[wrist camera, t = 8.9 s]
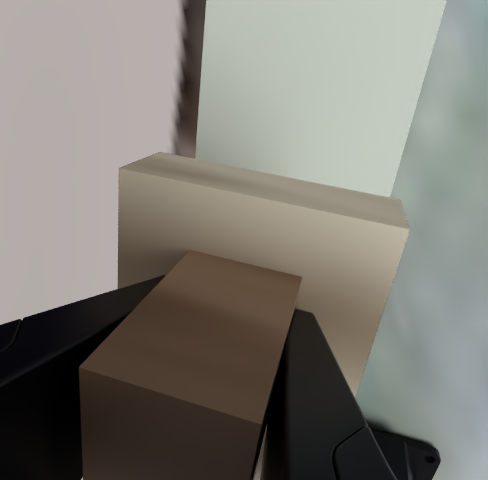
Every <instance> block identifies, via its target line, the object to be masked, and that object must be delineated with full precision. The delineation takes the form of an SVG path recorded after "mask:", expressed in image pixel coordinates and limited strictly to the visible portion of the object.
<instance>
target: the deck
mask: <svg viewBox="0 0 488 480" xmlns="http://www.w3.org/2000/svg"><path fill="white" fill-rule="evenodd" d="M446 1H447V0H206V12H205V26H204V40H203V54H202V68H201V82H200V96H199V110H198V124H197V138H196V152H195V159H198V160H203V161H208V162H213V163H219V164H224V165H229V166H234V167H239V168H244V169H249V170H254V171H259V172H264V173H269V174H274V175H279V176H284V177H289V178H294V179H299V180H304V181H309V182H314V183H319V184H324V185H329V186H334V187H339V188H344V189H349V190H354V191H359V192H364V193H369V194H374V195H379V196H384V197H389V198H390V195H391V191H392V188H393V184H394V181H395V177H396V174H397V170H398V167H399V163H400V160H401V157H402V153H403V150H404V146H405V143H406V139H407V136H408V132H409V129H410V125H411V122H412V119H413V115H414V112H415V108H416V105H417V101H418V98H419V94H420V91H421V87H422V84H423V81H424V77H425V74H426V70H427V67H428V63H429V60H430V56H431V53H432V49H433V46H434V43H435V39H436V36H437V32H438V29H439V25H440V22H441V18H442V15H443V12H444V8H445V5H446Z"/></svg>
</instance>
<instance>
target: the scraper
mask: <svg viewBox="0 0 488 480" xmlns="http://www.w3.org/2000/svg"><path fill="white" fill-rule="evenodd" d="M118 214H119V215H118V216H119V217H118V219H119V220H118V289H120V288H123V287H126V286H129V285H133V284H136V283H139V282H143V281H146V280H149V279H152V278H156V277H159V276H162V275H166V276H165V277H164V278H163V279H162V280H161V281H160V282H159V283H158V284H157V285H156V287H155V288H154V289H153V290H152V291H151V292H150V293H149V294H148V295H147V296H146V297H145V298H144V299H143V300H142V301H141V302H140V303H139V304H138V305H137V307H136V308H135V309H134V310H133V311H132V312H131V313H130V314H129V315H128V316H127V317H126V318H125V319H124V320H123V321H122V322H121V323H120V324H119V325H118V327H117V328H116V329H115V330H114V331H113V332H112V333H111V334H110V335H109V336H108V337H107V338H106V339H105V340H104V341H103V342H102V343H101V344H100V345H99V347H98V348H97V349H96V350H95V351H94V352H93V353H92V354H91V355H90V356H89V357H88V358H87V359H86V360H85V361H84V362H83V363H82V364H81V365H80V367H79V386H80V411H81V436H82V461H83V480H254V478H255V474H256V470H257V466H258V462H259V458H260V455H261V451H262V447H263V443H264V439H265V435H266V430H267V422H268V418H269V413H270V409H271V404H272V399H273V395H274V390H275V386H276V381H277V377H278V372H279V367H280V363H281V358H282V354H283V349H284V345H285V340H286V337H287V333H288V330H289V327H290V323H291V320H292V316H293V313H294V310H295V309H300V310H304V311H308V312H311V313H313V314H314V315H315V317H316V319H317V322H318V324H319V326H320V328H321V330H322V332H323V334H324V336H325V338H326V340H327V342H328V344H329V346H330V348H331V350H332V352H333V354H334V356H335V358H336V360H337V362H338V364H339V366H340V369H341V371H342V373H343V375H344V377H345V379H346V381H347V383H348V385H349V387H350V389H351V391H352V393H353V395H354V397H356V393H357V390H358V387H359V384H360V381H361V378H362V375H363V372H364V369H365V366H366V363H367V360H368V357H369V354H370V351H371V348H372V344H373V341H374V338H375V335H376V332H377V329H378V326H379V323H380V320H381V317H382V314H383V311H384V308H385V305H386V302H387V299H388V295H389V292H390V289H391V286H392V283H393V280H394V277H395V274H396V271H397V268H398V265H399V262H400V259H401V256H402V253H403V250H404V246H405V243H406V240H407V237H408V234H409V231H410V228H409V225H408V222H407V219H406V216H405V213H404V209H403V206H402V203H401V200H399V199H394V198H389V197H384V196H379V195H374V194H369V193H364V192H359V191H354V190H349V189H344V188H339V187H334V186H329V185H324V184H319V183H314V182H309V181H304V180H299V179H294V178H289V177H284V176H279V175H274V174H269V173H264V172H259V171H254V170H249V169H244V168H239V167H234V166H229V165H224V164H219V163H213V162H208V161H203V160H198V159H193V158H188V157H183V156H178V155H173V154H168V153H163V152H158V153H156V154H153V155H151V156H148V157H146V158H143V159H141V160H138V161H136V162H133V163H131V164H128V165H126V166H123V167H121V168H119V213H118Z"/></svg>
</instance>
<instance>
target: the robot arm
mask: <svg viewBox="0 0 488 480" xmlns="http://www.w3.org/2000/svg"><path fill="white" fill-rule="evenodd" d="M165 276H166V275H162V276H159V277H156V278H152V279H149V280H146V281H143V282H139V283H136V284H133V285H129V286H126V287H123V288H120V289H117V290H113V291H110V292H107V293H103V294H100V295H97V296H94V297H90V298H87V299H84V300H80V301H77V302H74V303H71V304H67V305H64V306H61V307H58V308H54V309H52V310H48V311H45V312H41V313H38V314H35V315H32V316H28V317H25V318H23V320H21V319H18V320H15V321H12V322H8V323H5V324H2V325H0V480H81V479H82V477H83V461H82V436H81V411H80V386H79V367H80V365H81V364H82V363H83V362H84V361H85V360H86V359H87V358H88V357H89V356H90V355H91V354H92V353H93V352H94V351H95V350H96V349H97V348H98V347H99V345H100V344H101V343H102V342H103V341H104V340H105V339H106V338H107V337H108V336H109V335H110V334H111V333H112V332H113V331H114V330H115V329H116V328H117V327H118V325H119V324H120V323H121V322H122V321H123V320H124V319H125V318H126V317H127V316H128V315H129V314H130V313H131V312H132V311H133V310H134V309H135V308H136V307H137V305H138V304H139V303H140V302H141V301H142V300H143V299H144V298H145V297H146V296H147V295H148V294H149V293H150V292H151V291H152V290H153V289H154V288H155V287H156V285H157V284H158V283H159V282H160V281H161V280H162V279H163V278H164V277H165ZM429 456H431V457H429ZM440 461H441V459H440V454H439V451H438V450H437V449H436V448H434V447H432V446H429V445H426V444H422V443H419V442H416V441H412V440H409V439H405V438H402V437H399V436H395V435H392V434H388V433H385V432H382V431H378V430H375V429H371V428H369V427H368V424H367V422H366V420H365V418H364V416H363V414H362V411H361V409H360V407H359V405H358V403H357V401H356V399H355V397H354V395H353V393H352V391H351V389H350V387H349V385H348V383H347V381H346V379H345V377H344V375H343V373H342V371H341V369H340V366H339V364H338V362H337V360H336V358H335V356H334V354H333V352H332V350H331V348H330V346H329V344H328V342H327V340H326V338H325V336H324V334H323V332H322V330H321V328H320V326H319V324H318V322H317V319H316V317H315V315H314V314H313V313H311V312H308V311H304V310H300V309H295V310H294V313H293V316H292V320H291V323H290V327H289V330H288V333H287V337H286V340H285V345H284V349H283V354H282V358H281V363H280V367H279V372H278V377H277V381H276V386H275V390H274V395H273V399H272V404H271V409H270V413H269V418H268V422H267V430H266V438H265V446H264V454H263V462H262V470H261V478H260V480H432V478H433V476H434V474H435V472H436V470H437V468H438V466H439V464H440Z"/></svg>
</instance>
